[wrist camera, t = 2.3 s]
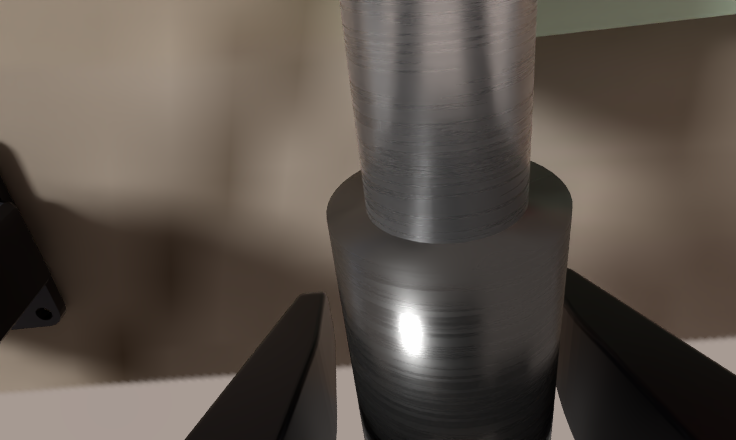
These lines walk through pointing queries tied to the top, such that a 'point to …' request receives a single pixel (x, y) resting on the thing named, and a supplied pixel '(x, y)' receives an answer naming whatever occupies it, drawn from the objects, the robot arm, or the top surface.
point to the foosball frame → (621, 13)
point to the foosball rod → (449, 224)
